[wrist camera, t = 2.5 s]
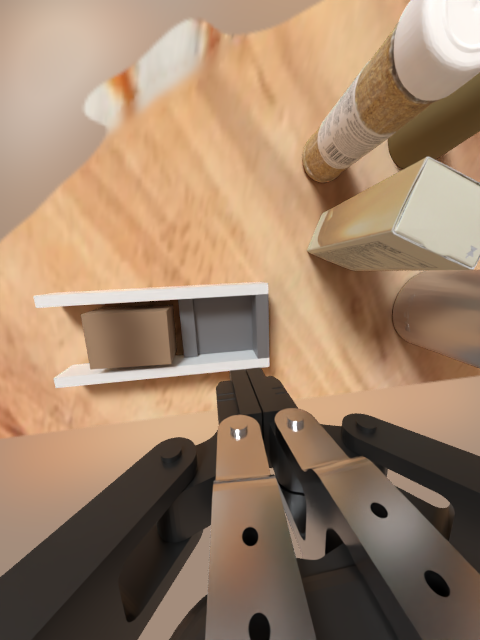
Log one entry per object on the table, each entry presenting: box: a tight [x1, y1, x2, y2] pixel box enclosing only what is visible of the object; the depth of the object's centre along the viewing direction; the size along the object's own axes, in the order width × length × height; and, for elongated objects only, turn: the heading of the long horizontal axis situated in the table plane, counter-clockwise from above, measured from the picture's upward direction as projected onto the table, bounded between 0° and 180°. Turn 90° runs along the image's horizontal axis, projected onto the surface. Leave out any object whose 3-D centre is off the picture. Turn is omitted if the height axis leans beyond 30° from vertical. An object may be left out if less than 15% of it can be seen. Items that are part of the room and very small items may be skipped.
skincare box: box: [307, 157, 480, 271], centre depth 19 cm, size 6×4×12 cm
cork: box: [388, 73, 480, 169], centre depth 18 cm, size 6×6×11 cm
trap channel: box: [33, 282, 269, 388], centre depth 23 cm, size 20×8×3 cm, turn 93°
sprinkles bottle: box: [302, 0, 480, 183], centre depth 16 cm, size 5×5×13 cm
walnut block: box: [81, 305, 177, 370], centre depth 22 cm, size 7×5×4 cm
